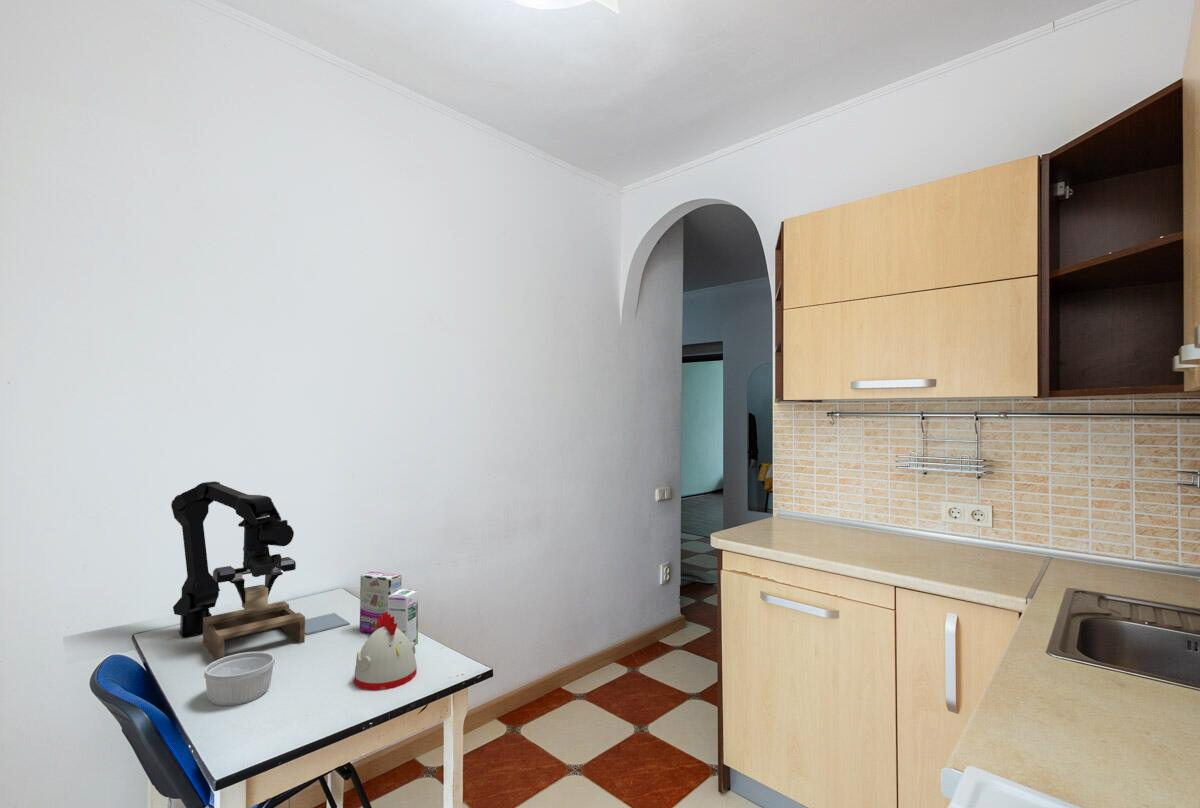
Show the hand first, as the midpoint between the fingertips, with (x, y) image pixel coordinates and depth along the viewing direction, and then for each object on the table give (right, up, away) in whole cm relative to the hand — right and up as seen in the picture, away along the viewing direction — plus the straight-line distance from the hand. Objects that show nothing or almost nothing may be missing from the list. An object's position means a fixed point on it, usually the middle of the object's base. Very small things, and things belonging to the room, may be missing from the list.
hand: (254, 600), depth 155 cm
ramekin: (+14, -11, -29) cm, 34 cm away
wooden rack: (0, -11, 0) cm, 11 cm away
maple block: (0, -2, 0) cm, 2 cm away
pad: (+11, -12, +14) cm, 21 cm away
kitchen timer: (+43, -12, -19) cm, 49 cm away
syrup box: (+41, -12, -2) cm, 43 cm away
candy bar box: (+31, -12, +8) cm, 34 cm away
